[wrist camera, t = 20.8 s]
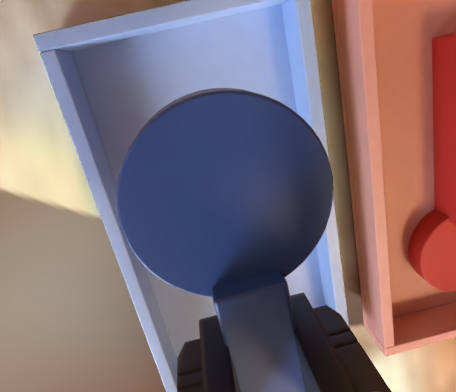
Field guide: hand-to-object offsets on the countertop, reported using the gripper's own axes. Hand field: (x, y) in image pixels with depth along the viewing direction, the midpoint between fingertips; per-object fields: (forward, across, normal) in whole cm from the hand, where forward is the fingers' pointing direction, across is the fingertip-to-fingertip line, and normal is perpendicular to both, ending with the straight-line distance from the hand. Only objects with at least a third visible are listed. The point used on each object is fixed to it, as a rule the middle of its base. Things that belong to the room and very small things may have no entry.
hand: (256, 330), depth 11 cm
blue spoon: (0, 0, 0) cm, 0 cm away
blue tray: (+9, 0, 0) cm, 9 cm away
